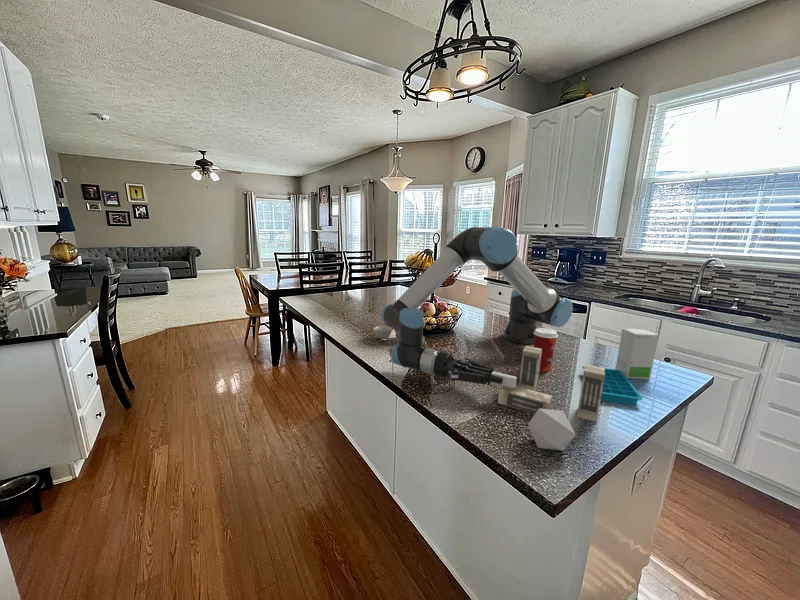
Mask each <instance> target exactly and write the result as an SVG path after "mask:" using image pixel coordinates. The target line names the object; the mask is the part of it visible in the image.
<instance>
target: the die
mask: <svg viewBox="0 0 800 600" xmlns="http://www.w3.org/2000/svg"><path fill="white" fill-rule="evenodd" d="M527 425H528V427H529V430H530V433H531V434H532V437H533V440H534V442H535V444H536V446H537V448H538V449H546V450H553V451H561V452H562V451H564V450H566V448H567V446H568V445H569V444H570V442H571V441H572V440H573V439H574V437H575V436H576V433H575V430H574V429H573V427H572V425H571V423H570V421H569V419H568V417H567V415H566V413H565V412H564V410H558V409H557V410H556V409H551V410H549V409H538V410H537V412H536V413H535V414H534V415H533V416H532V418H531V419H530V421H529V422H528V424H527Z"/></svg>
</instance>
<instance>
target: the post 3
mask: <svg viewBox="0 0 800 600" xmlns="http://www.w3.org/2000/svg"><path fill="white" fill-rule="evenodd" d="M584 366H585V367H584V369H583V373H582V375H583V376H582V380H581V381H582V382H581V388H580V396H579V400H578V408H577V415H576V417H578V418H581V419H584V420H589V421H593V422H596V423H598V419H599V412H600V405H601V401H602V400H601V395H602V389H603V383H604V377H605V367H600V366H594V365H589V364H584Z"/></svg>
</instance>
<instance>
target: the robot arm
mask: <svg viewBox="0 0 800 600" xmlns="http://www.w3.org/2000/svg"><path fill="white" fill-rule="evenodd" d="M517 243H518V239H517V237H516V235H515V234H514V232H512V231H511V230H509V229H508V228H505V227H501V226H490V227H489V226H481V227H478V226H473V227H469V228H467V229H465V230H463V231H461V232H460V233H459V234H457V235H455V237H454V238H452V239H451V241H449V242H448V243H447V244H446V245H445V247H444V248H443V249H442V253H441V254H440V255H439V256H438V258H436V260H435V261H434V262H433V263H432V264H431V265H430V266H428V268H427V269H426V270H425V271H424V272H423V273H422V274H421V275H420V276H418V278H417V279H416V280H415V281H414V282H413V284H411V285H410V286H409V287H408V288H407V289H406V290H405V292H403V294H402V295H400V297H399V298H398V299H396V301H395V302H394V303H391V304H386V305H384V306H383V307H382V308H381V311H380V319H381V320H382V322H383V324H385V326H389V327H391V328H393V331H394V330H395V331H397V332H398V333H399V341H398V342H396V343H394V345H393V346H392V349H391V353H390V357H391V361H392V362H393V364H395V365H398V366H401V367H403V368H407V369H411V370H416V371H420V372H422V373H426V374H428V375H435V376H437V377H440V378H441V377H442V378H448V377H449V376H450V381H456V382H457V381H460V382H466V383H473V384H479V385H486V384H487V385H488V386H490V385H491V383H493V384H498V385H501V386H502V385H505V386H509V387H513V388H515V386H517V377H518V376H515V375H511V374H507V373H502V372H498V371H494V370H495V369H494V367H492V366H488V365H486V364H484V363H480V362H478V361H474V360H472V359H470V358H468V357H466V358H464V359H465V360H461V359H454V357H453V354H452V353H449V352H444V351H440V350H436V349H432V348H428V347H427V348H426V347H425V346H423V344H422V337H423V336H424V335H423V334H424V333H423V332H424V328H423V324H424V321H423V318H424V312H423V311H422V310H421V309H420V307H421V306H422V305H423V304H424V303H425V302H426V301H427V300H428V298H430V297H431V296H432V294H434V292H435V291H436V290H438V288H439V287H440V286H441V285H442V284H443V283H445V281H446V280H447V279H448V278H449V277H450V276H451V274H452V273H454V271H456V269H457V268H459V267H463V266H464V265H465V264H466V263H467V262H470V261H472V260H473V261H479V262H481V263H483V264H484V265H485V266H486V267H487V268H488V269H489V271H492V272H495V273H496V272H498V273H499V274H500V275H501V276H502V278H504V280H506V281H507V282H508V284H509V285H510V286H512V288H514V289H512V291H511V295H510V303H509V315H508V322H507V324H506V326H505V328H504V330H503V334H502V335H503V336H502V337H503V338H504V339H505V340H507V341H508V342H512V343H516V344H520V345H521V344H522V345H534V332H535V329H537V328H539V327H538V324H537V323H538V322H540V323H543V324H546V325H548V326H551V327H555V328H561V327H564V326H565V325H566V324H567V323H568V322H569V320H570V319H571V317H572V314H573V309H574V307H573V303H572V301H571V300H570V299H569V298H566V297H561V296H559V294H558V293H557V292H556V291H555V290H554V289H553V288H551V287H546V286H545V285H544V284H543V282H542V281H541V280H540V279H539V278H538V277H537V276H536V275H535V273H534V272H533V271H532V270H531V269H530V268H529V266H527V265H526V263H525V262H524V261H523V259H521V258H520V256H519V255H518V254H519V250H518V249H519V247H518V246H519V245H518V244H517ZM395 331H394V332H395Z"/></svg>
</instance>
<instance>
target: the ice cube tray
mask: <svg viewBox="0 0 800 600" xmlns="http://www.w3.org/2000/svg"><path fill="white" fill-rule="evenodd" d="M584 367H585V365H583V366H582V370H584ZM604 368H605V367H604ZM639 400H643V396H642V395H641V393H640V392H639V391H638V390H637V389H636V387H635V386H634V385H633V384H632V382H631V381H630V379H629V378H627V377H626V376H625V375H624V373H623V372H622V371H620V370H615V368H605V377H604V383H603V389H602V395H601V401H603V402H611V403H615V404H616V403H617V404H621V403H624V404H623V405H628V404H631V405H630V406H634V405H635V406H637V404H638V401H639Z"/></svg>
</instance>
